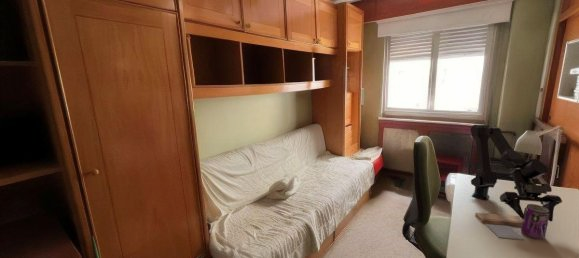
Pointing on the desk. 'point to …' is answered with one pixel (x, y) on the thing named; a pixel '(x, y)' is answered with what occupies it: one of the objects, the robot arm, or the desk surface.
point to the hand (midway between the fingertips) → (537, 219)
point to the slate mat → (504, 232)
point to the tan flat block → (499, 219)
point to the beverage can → (535, 221)
